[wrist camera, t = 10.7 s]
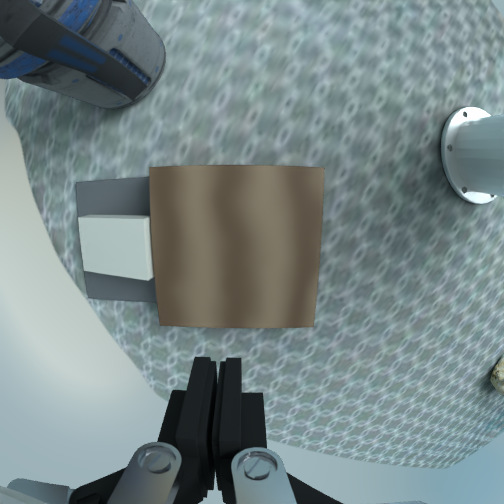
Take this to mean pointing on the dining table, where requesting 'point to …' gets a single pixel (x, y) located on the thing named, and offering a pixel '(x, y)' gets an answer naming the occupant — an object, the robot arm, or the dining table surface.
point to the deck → (236, 244)
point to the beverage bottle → (81, 49)
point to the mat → (116, 203)
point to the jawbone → (498, 376)
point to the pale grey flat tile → (117, 245)
